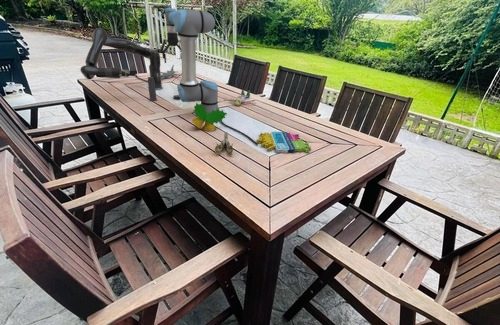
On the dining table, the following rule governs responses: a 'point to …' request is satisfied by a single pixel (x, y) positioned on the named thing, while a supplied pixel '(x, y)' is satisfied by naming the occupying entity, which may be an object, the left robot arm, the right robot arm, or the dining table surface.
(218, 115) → the ornament
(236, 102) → the toy
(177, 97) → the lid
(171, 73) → the airplane
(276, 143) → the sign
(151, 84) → the jar
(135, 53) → the left robot arm
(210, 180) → the dining table surface
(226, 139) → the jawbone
